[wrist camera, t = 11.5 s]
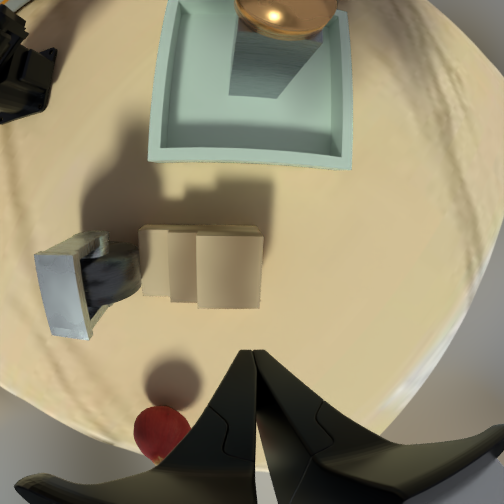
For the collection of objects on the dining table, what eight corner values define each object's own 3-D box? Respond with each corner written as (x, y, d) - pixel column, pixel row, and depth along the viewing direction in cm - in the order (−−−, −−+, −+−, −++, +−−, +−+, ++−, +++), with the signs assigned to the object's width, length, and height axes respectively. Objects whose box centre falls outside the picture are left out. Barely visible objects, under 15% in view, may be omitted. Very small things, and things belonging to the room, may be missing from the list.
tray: (157, 162, 19) (147, 160, 16) (174, 13, 15) (169, -6, 13) (334, 170, 21) (351, 170, 18) (333, 26, 17) (346, 12, 14)
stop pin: (224, 98, 18) (232, 21, 7) (228, 52, 17) (239, -42, 6) (279, 102, 18) (340, 37, 8) (281, 56, 17) (333, -27, 6)
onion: (177, 430, 26) (172, 484, 19) (132, 409, 25) (118, 464, 17) (202, 405, 26) (202, 466, 18) (154, 381, 24) (139, 442, 16)
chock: (149, 283, 22) (137, 306, 18) (146, 223, 20) (130, 235, 16) (252, 285, 23) (259, 308, 19) (255, 224, 22) (263, 236, 18)
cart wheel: (79, 282, 21) (28, 330, 13) (72, 226, 19) (10, 254, 11) (152, 286, 21) (121, 343, 13) (148, 224, 20) (107, 255, 12)
